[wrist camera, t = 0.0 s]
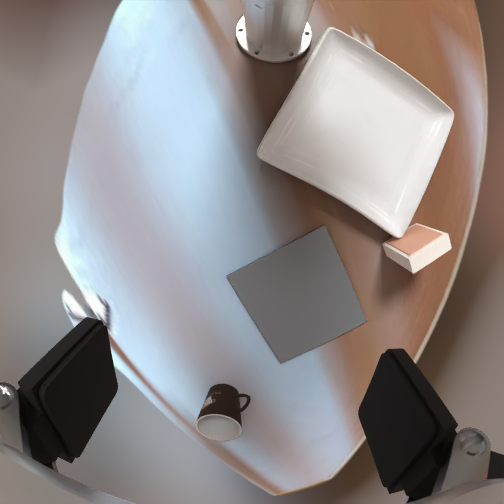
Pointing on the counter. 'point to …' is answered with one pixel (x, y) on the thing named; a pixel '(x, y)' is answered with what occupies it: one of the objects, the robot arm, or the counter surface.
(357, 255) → the counter surface
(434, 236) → the tile
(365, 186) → the square plate
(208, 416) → the coffee mug
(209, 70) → the counter surface
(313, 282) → the mat
